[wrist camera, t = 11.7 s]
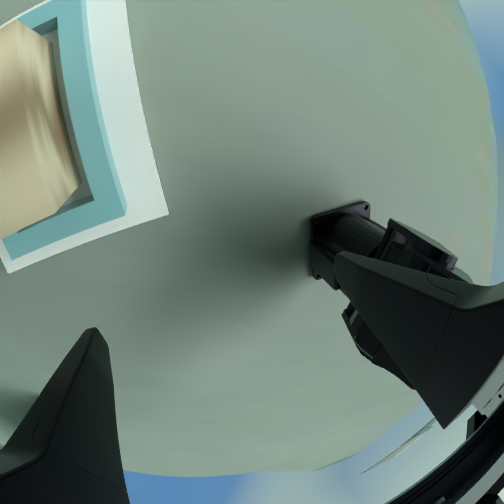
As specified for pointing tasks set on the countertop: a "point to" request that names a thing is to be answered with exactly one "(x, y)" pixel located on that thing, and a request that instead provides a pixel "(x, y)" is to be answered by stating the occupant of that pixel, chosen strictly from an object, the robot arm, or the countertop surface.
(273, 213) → the countertop surface
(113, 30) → the keyed cradle
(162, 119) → the countertop surface
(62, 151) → the key block
